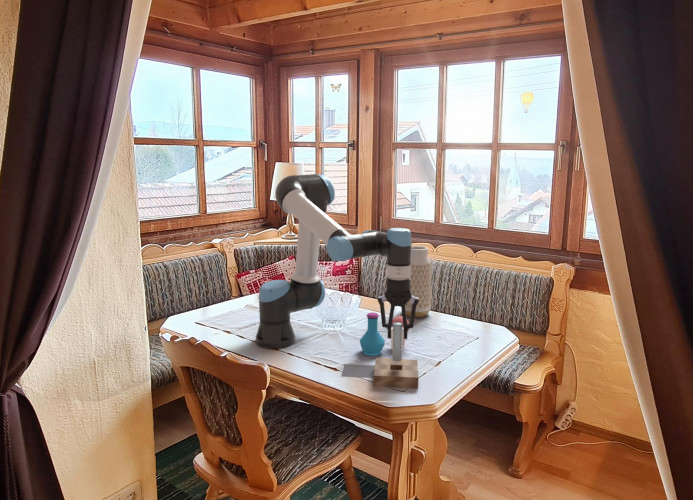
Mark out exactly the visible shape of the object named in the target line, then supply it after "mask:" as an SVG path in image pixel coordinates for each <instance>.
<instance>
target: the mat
mask: <svg viewBox="0 0 693 500" xmlns="http://www.w3.org/2000/svg"><path fill="white" fill-rule="evenodd" d="M374 369H375V364H352V363H344V364H343V367H342V371H341V374H340V375H341V377H347V378H364V379H365V378H367V379H369V378H370V379H374Z"/></svg>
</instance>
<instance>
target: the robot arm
mask: <svg viewBox="0 0 693 500" xmlns="http://www.w3.org/2000/svg"><path fill="white" fill-rule="evenodd" d="M334 187H335V186H334V184H333V182H332V180H331V178H329V177H328V176H326V175H325V174H318V173H317V174H316V173H310V174H300V175H298V174H296V175H294V174H292V175H288V176H285V177H284V178H282V179H280V181H279V183H278V184H277V185H276V187H275V192H274V194H275V200H276V203H277V205H278V206H279V208H280V209H281V210H282V211H284V213H286V214H288V215H292V216H294V218H295V219H297V220H298V230H297V231H298V232H297V241H296V244H297V245H296V255H295V256H296V259H295V267H294V269H295V270H294V272H292V274H291V275H290V282H289V281H287V280H286V279H274V280H270V281H267V282H265V283H263V284H261V286H260V287H259V290H258V308H259V309H258V311H259V325H258V329H257V331H256V334H255V344H256V345H257V346H259V347H260V348H264V349H282V348H288V347H289V346H292V345H293V344H294V343H295V342H296V334H295V331H294V329H293V327H292V323H291V313H295V312H300V311H304V310H311V309H314V308H316V307H318V306H320V305H322V303H323V302H324V300H325V297H326V288H325V284H324V282H323V281H322V279H321V276H320V275H319V274H318V264H319V254H320V243H321V242H320V241H322V243H324V244H325V245H326V252H327V254H328V255H329V258H330V259H331V260H333V261H335V262H339V261H340V262H341V261H343V262H345V261H348V260H353V259H359V258H360V259H361V258H365V257H372V256H382V257H385V258H386V291H385V292H384V294H382V295H381V296H380V295H379V296H377V302H378V305H379V308H380V319H381V326H382V328H386V329H387V339H390V350H393V336H394V330H393V327H392V321H393V319H394V313H395V307H400V308H401V316H402V318H403V326H404V328H402V331H401V350H402V351H403V350H404V347H405V343H404V340H407V339H408V332H409V330H410V329H413V328H414V324H415V318H416V317H415V311H416V306H417V304H418V302H419V298H418V297H414V296H412V294H411V292H410V278H409V277H410V276H411V246H412V233H411V230H410V229H408V228H407V227H406V228H405V227H404V228H402V227H393V228H392V227H391V228H389V229H387V232H384V231H378V230H375V229H373V230H372V229H368V230H364V231H363V232H361V233H355V234H354V233H352V234H351V233H350V232H348V231H347V230H346V229H345V228H343V226H341V225H340V224H338V222H336V221H335V220H334V219H332V218H331V217H329V215H328V214H326V213H327V211H328V206H329V205H331V204H332V203H333V202H334V200H335V195H336V192H335V188H334ZM410 299H411V303H412V309H411V316H410V317H409V324H407V320H408V319H407V318H408V316H407V315H406V309H405V305H406V304H407V302H408V301H409V300H410ZM386 300H387V302H388V303H389V304H390V310H389V315H388V322H387V319H386V310H385V302H386ZM408 329H409V330H408ZM407 331H408V332H407Z"/></svg>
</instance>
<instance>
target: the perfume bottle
mask: <svg viewBox="0 0 693 500" xmlns="http://www.w3.org/2000/svg"><path fill="white" fill-rule="evenodd" d="M365 316H366V317H367V330H366V331H365V332H364V334H363V335H362V336H361V338H360V339H359V344H360V347H361V350H362V352H363V354H365V355H367V356H378V355H380V354H382V351H383V348H384V346H385V342H386V340H385V339H384V337H383V336H382V335H381V333H380V332H379V330H378V319H379V317H380V315H379V314H378V313H377V312H367V314H366V315H365Z"/></svg>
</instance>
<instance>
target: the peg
mask: <svg viewBox="0 0 693 500" xmlns="http://www.w3.org/2000/svg"><path fill="white" fill-rule="evenodd" d="M393 330H394V336H393V349H392V358H391V359H393V360H394V361H401V360H402V359H403V354H402V353H403V350H401V331H402V323H393Z"/></svg>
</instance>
